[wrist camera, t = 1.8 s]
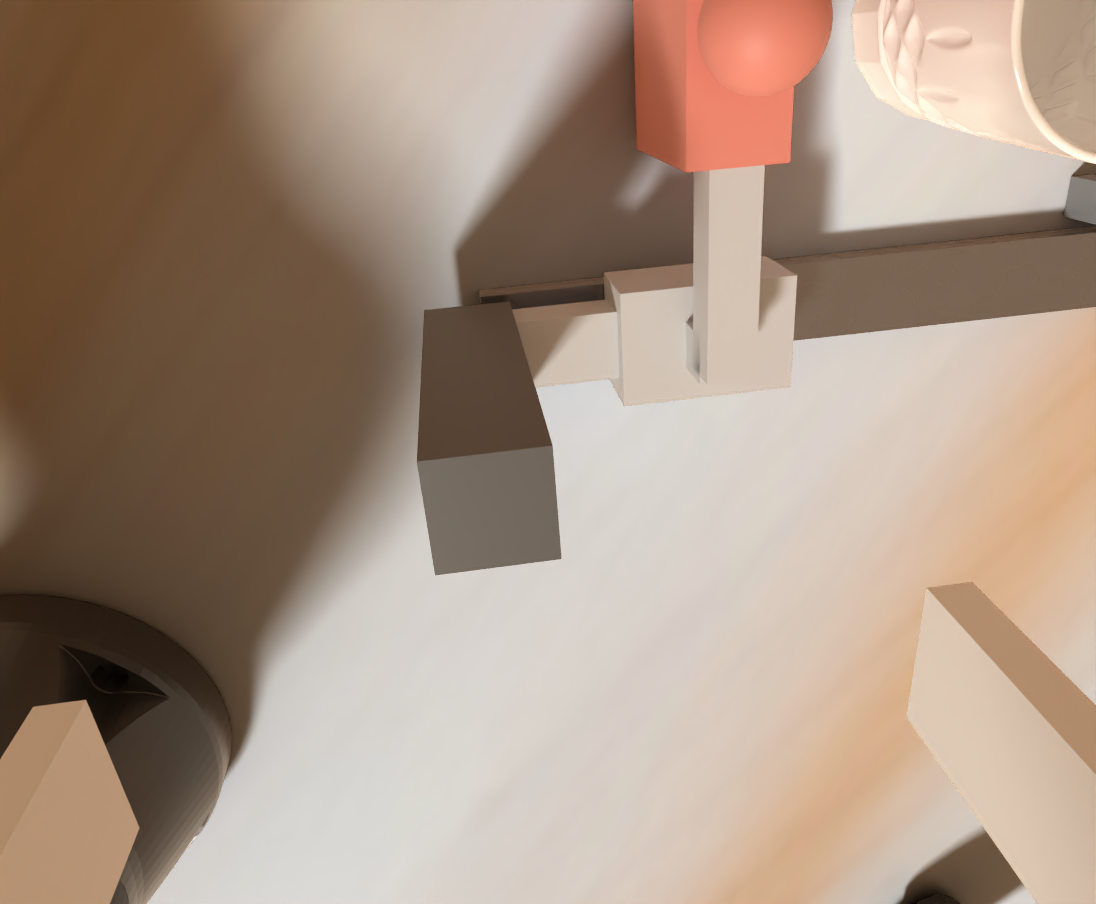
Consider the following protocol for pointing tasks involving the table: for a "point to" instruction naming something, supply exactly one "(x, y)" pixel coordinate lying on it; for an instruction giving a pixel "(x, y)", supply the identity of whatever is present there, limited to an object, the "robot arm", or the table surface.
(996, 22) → the white cup
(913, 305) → the rail
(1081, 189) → the frame
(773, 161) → the striker slider
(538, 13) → the table surface
